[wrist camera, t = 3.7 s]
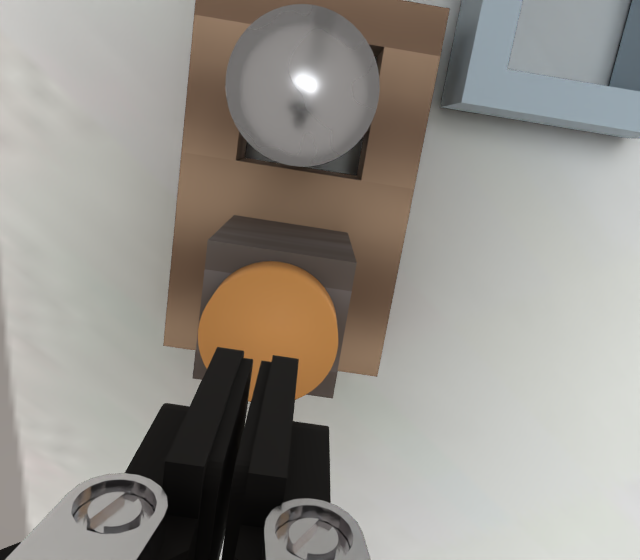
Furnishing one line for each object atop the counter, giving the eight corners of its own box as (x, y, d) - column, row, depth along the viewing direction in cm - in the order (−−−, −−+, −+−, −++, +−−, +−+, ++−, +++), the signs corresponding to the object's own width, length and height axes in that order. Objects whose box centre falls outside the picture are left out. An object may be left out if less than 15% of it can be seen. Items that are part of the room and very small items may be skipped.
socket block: (212, -16, 25) (156, -96, 16) (434, 23, 25) (495, -36, 17) (178, 324, 29) (118, 406, 20) (371, 352, 29) (393, 445, 21)
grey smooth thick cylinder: (272, 55, 26) (235, -9, 14) (359, 70, 26) (392, 18, 14) (261, 145, 27) (217, 153, 15) (344, 158, 27) (364, 177, 15)
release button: (239, 223, 24) (205, 262, 17) (340, 239, 24) (349, 283, 17) (227, 319, 25) (191, 393, 18) (323, 333, 26) (326, 413, 18)
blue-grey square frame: (484, -112, 24) (516, -159, 20) (687, -75, 24) (757, -114, 20) (440, 107, 26) (461, 102, 22) (627, 137, 27) (679, 138, 23)
